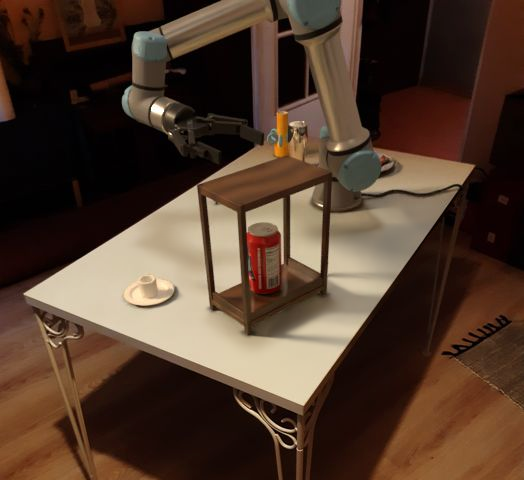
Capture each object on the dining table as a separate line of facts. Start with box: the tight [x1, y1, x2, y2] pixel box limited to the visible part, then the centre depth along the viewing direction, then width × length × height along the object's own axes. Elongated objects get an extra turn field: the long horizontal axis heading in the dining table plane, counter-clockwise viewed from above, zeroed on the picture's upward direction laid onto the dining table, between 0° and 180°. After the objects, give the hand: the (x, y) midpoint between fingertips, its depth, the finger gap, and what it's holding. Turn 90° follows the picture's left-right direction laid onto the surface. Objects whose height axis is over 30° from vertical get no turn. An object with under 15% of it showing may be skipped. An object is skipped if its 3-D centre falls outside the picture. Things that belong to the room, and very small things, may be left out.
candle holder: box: [123, 274, 175, 306], centre depth 135 cm, size 12×12×4 cm
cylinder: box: [266, 110, 290, 158], centre depth 204 cm, size 12×10×15 cm
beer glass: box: [287, 120, 309, 162], centre depth 194 cm, size 7×7×15 cm
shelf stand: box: [196, 155, 332, 336], centre depth 123 cm, size 14×24×30 cm, turn 130°
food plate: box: [374, 150, 396, 173], centre depth 197 cm, size 25×23×4 cm
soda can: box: [247, 221, 283, 294], centre depth 126 cm, size 8×8×15 cm
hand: (242, 148), depth 121 cm, fingers open, 13 cm apart
